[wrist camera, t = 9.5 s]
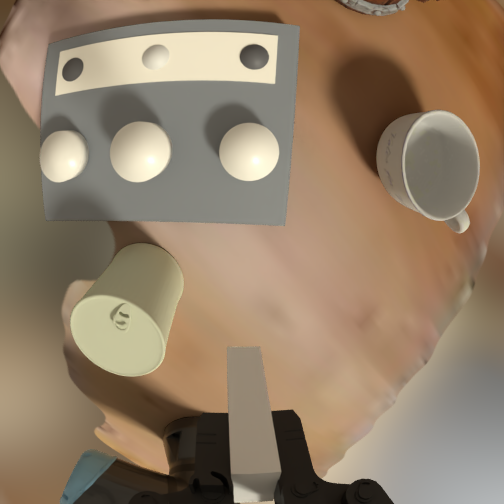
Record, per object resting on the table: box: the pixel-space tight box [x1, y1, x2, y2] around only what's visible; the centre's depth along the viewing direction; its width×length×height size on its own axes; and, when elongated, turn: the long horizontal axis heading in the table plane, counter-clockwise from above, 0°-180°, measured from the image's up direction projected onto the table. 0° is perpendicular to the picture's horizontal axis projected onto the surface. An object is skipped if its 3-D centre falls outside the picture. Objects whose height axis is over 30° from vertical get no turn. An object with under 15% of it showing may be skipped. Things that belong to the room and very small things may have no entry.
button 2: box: [40, 130, 89, 182], centre depth 24 cm, size 5×5×2 cm
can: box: [70, 243, 184, 376], centre depth 28 cm, size 9×9×12 cm
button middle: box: [110, 121, 172, 182], centre depth 23 cm, size 5×5×2 cm
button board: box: [41, 19, 300, 226], centre depth 25 cm, size 20×26×3 cm
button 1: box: [219, 123, 279, 181], centre depth 25 cm, size 5×5×2 cm
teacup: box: [376, 110, 480, 233], centre depth 27 cm, size 14×11×8 cm
